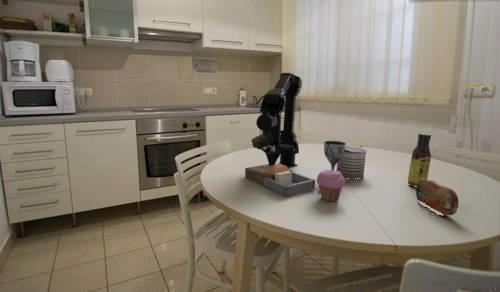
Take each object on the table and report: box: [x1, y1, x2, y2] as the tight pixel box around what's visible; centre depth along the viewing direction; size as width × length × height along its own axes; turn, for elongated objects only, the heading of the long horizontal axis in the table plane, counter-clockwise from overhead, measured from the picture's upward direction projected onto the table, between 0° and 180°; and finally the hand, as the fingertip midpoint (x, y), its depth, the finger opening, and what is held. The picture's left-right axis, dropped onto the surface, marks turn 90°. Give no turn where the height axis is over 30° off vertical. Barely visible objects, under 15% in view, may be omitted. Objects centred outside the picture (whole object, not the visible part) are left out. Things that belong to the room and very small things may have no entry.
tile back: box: [267, 163, 288, 175], centre depth 111 cm, size 6×4×2 cm
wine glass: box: [323, 140, 347, 170], centre depth 115 cm, size 8×8×15 cm
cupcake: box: [316, 169, 346, 202], centre depth 96 cm, size 9×9×10 cm
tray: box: [262, 171, 316, 198], centre depth 106 cm, size 14×12×4 cm
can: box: [335, 144, 368, 180], centre depth 121 cm, size 11×11×12 cm
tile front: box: [275, 171, 293, 185], centre depth 108 cm, size 6×4×2 cm
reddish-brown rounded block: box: [415, 179, 459, 216], centre depth 89 cm, size 15×3×8 cm, turn 5°
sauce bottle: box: [407, 133, 432, 186], centre depth 109 cm, size 6×6×20 cm
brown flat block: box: [244, 163, 293, 187], centre depth 116 cm, size 14×12×4 cm
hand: (271, 167), depth 113 cm, fingers closed
